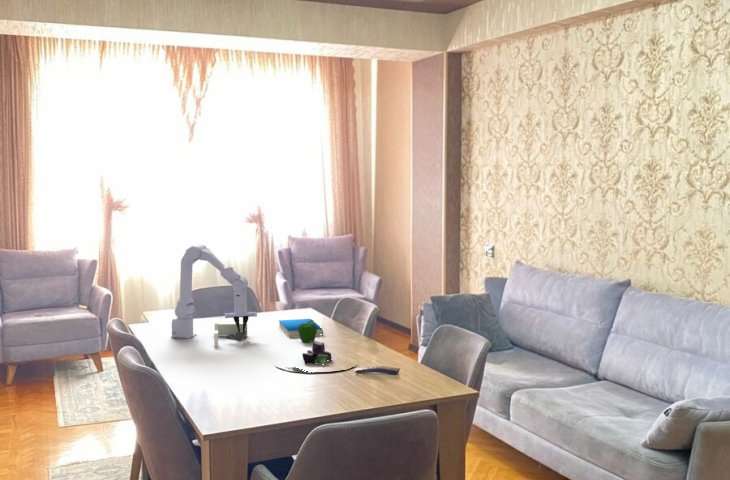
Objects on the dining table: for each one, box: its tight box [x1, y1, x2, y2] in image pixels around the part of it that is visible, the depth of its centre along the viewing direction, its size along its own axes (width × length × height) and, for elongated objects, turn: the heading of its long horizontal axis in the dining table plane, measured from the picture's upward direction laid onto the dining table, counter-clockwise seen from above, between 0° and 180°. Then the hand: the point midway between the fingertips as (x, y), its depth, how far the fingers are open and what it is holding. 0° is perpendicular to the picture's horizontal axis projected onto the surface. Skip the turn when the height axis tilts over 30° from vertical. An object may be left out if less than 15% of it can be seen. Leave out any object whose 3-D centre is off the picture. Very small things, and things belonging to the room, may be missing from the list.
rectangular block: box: [213, 320, 219, 348], centre depth 345 cm, size 28×2×6 cm, turn 11°
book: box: [278, 318, 324, 338], centre depth 365 cm, size 17×4×25 cm
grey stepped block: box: [225, 330, 247, 341], centre depth 349 cm, size 8×4×4 cm, turn 63°
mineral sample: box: [274, 342, 333, 374], centre depth 304 cm, size 35×35×9 cm
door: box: [218, 323, 248, 337], centre depth 353 cm, size 14×2×6 cm, turn 96°
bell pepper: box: [299, 319, 317, 343], centre depth 342 cm, size 8×8×10 cm
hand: (241, 332), depth 347 cm, fingers closed, pressing on grey stepped block
